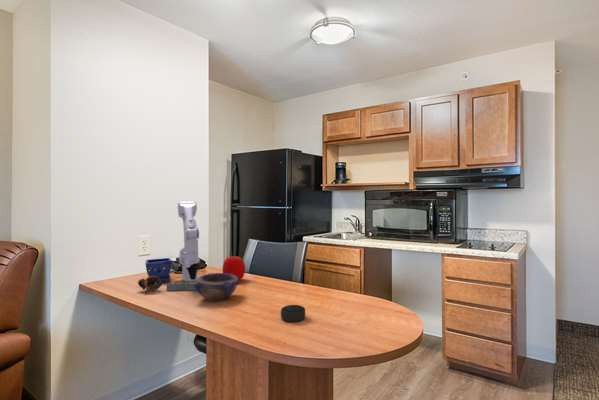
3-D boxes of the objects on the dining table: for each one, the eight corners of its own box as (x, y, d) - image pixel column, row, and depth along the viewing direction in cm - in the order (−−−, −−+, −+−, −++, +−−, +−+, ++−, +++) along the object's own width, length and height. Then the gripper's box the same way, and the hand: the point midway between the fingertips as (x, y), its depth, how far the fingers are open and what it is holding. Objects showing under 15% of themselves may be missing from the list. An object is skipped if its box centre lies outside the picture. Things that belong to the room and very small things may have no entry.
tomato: (218, 282, 183) (217, 256, 183) (228, 278, 194) (228, 253, 194) (239, 283, 179) (238, 256, 179) (249, 278, 190) (248, 253, 190)
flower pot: (145, 280, 194) (145, 259, 194) (170, 277, 200) (170, 257, 200) (146, 285, 182) (145, 262, 182) (172, 282, 188) (172, 260, 188)
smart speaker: (291, 313, 131) (291, 302, 131) (310, 317, 125) (310, 306, 125) (276, 320, 124) (275, 308, 124) (294, 325, 118) (294, 313, 118)
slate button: (190, 286, 175) (190, 278, 175) (199, 286, 174) (198, 278, 174) (187, 289, 170) (187, 280, 170) (196, 289, 170) (195, 280, 170)
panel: (173, 286, 177) (173, 280, 177) (219, 286, 176) (218, 280, 176) (166, 290, 169) (166, 284, 169) (214, 290, 168) (214, 284, 168)
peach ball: (177, 287, 175) (177, 278, 175) (185, 286, 175) (185, 278, 175) (173, 289, 171) (173, 280, 171) (182, 289, 170) (182, 280, 170)
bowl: (228, 305, 143) (227, 281, 143) (189, 303, 146) (188, 280, 146) (244, 293, 160) (243, 272, 160) (208, 292, 164) (208, 271, 164)
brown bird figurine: (164, 288, 176) (165, 276, 172) (156, 301, 167) (157, 289, 163) (141, 283, 175) (141, 271, 171) (132, 296, 166) (132, 283, 163)
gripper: (190, 250, 180) (190, 276, 180) (178, 254, 165) (179, 282, 165) (203, 250, 179) (203, 275, 179) (193, 254, 165) (193, 282, 165)
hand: (193, 279), depth 172 cm, fingers closed, pressing on slate button
